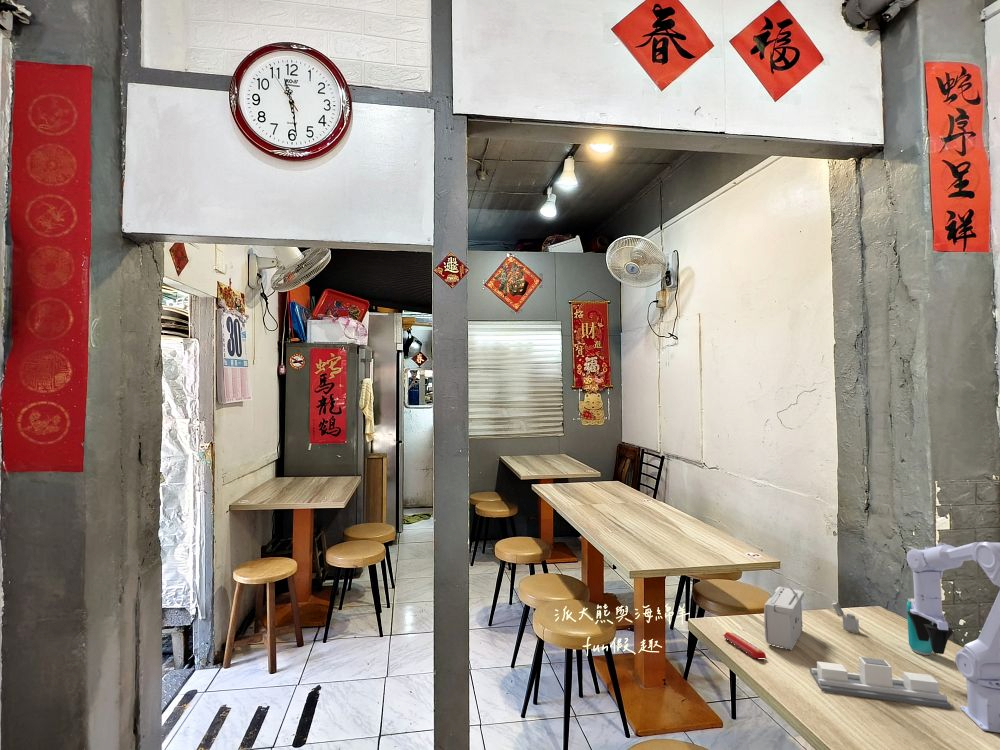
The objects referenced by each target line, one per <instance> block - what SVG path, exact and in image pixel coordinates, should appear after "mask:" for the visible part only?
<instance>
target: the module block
mask: <svg viewBox="0 0 1000 750" xmlns="http://www.w3.org/2000/svg"><path fill="white" fill-rule="evenodd" d="M858 672H859V673H858V674H860V681H861V682H862V683H863V684H864V685H872V686H879V687H887V688H893V684H892V678H893V669H892V665H890V664H889V663H888V661H887V660H885V659H880V658H879V659H878V658H874V657H873V658H871V657H864V656H863V657H862V656H858Z"/></svg>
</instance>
